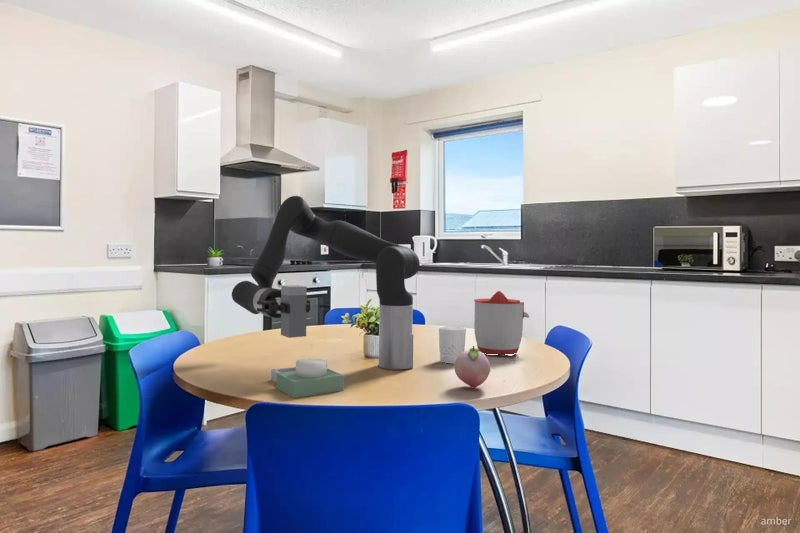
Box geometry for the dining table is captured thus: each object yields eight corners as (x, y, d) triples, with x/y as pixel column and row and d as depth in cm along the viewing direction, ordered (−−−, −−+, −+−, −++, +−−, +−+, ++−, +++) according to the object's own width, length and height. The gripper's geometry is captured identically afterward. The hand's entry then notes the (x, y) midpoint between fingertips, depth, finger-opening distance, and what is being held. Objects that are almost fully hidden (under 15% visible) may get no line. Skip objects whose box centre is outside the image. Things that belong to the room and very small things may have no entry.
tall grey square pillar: (280, 334, 130) (281, 285, 129) (297, 333, 132) (298, 285, 132) (289, 337, 126) (289, 287, 125) (306, 336, 128) (306, 286, 128)
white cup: (469, 361, 156) (470, 327, 156) (457, 366, 149) (458, 330, 149) (445, 358, 160) (446, 325, 160) (433, 362, 153) (433, 328, 153)
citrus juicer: (534, 359, 160) (535, 293, 160) (476, 358, 161) (477, 292, 160) (522, 349, 176) (523, 289, 175) (470, 348, 176) (471, 288, 176)
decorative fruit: (452, 382, 130) (453, 342, 129) (486, 383, 129) (487, 342, 129) (455, 393, 120) (456, 349, 120) (491, 393, 120) (492, 349, 120)
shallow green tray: (263, 380, 129) (263, 354, 129) (308, 374, 136) (309, 349, 136) (294, 398, 114) (294, 368, 114) (343, 390, 121) (343, 362, 121)
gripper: (245, 288, 136) (270, 293, 122) (296, 287, 144) (325, 292, 130) (244, 318, 136) (269, 326, 122) (296, 315, 145) (325, 322, 131)
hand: (298, 308), depth 127 cm, fingers closed on tall grey square pillar, 4 cm apart
